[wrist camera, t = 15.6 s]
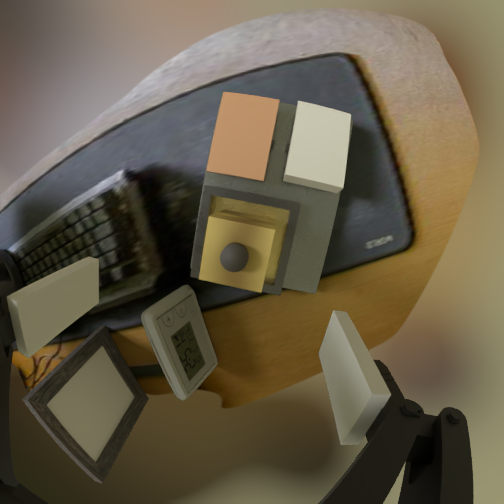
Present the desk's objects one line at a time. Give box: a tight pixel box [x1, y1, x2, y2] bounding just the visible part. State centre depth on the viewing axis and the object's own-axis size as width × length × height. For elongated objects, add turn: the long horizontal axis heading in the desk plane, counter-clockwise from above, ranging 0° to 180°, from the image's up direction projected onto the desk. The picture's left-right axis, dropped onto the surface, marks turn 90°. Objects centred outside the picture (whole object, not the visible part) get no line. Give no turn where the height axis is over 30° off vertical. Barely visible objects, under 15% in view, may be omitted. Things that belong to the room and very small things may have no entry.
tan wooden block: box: [199, 209, 275, 293], centre depth 28 cm, size 6×6×9 cm
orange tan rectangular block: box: [206, 92, 279, 182], centre depth 28 cm, size 6×9×2 cm, turn 169°
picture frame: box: [23, 326, 149, 483], centre depth 31 cm, size 16×2×21 cm, turn 19°
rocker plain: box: [283, 101, 351, 193], centre depth 28 cm, size 6×9×2 cm, turn 169°
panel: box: [190, 94, 353, 295], centre depth 32 cm, size 16×22×4 cm
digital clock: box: [141, 285, 218, 401], centre depth 34 cm, size 14×8×9 cm, turn 2°
